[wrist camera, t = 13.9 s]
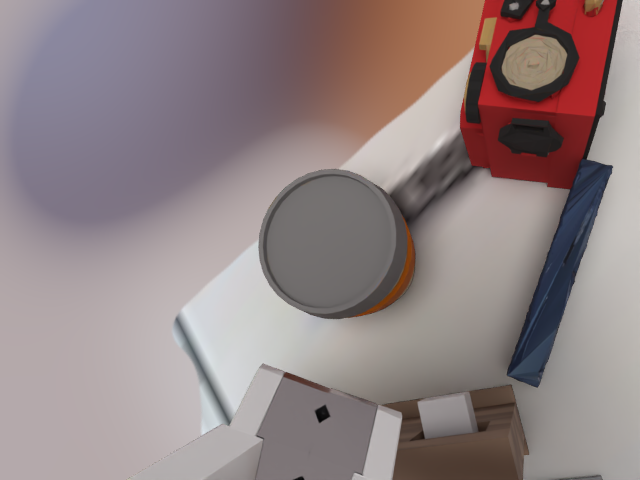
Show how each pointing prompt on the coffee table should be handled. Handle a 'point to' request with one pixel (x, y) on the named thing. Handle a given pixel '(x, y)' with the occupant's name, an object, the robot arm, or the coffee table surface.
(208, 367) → the coffee table surface
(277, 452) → the robot arm
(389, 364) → the coffee table surface
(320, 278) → the reusable coffee cup
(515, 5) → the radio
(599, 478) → the card
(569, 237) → the vhs cassette tape
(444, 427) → the off-white rectangular block
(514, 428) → the panel
